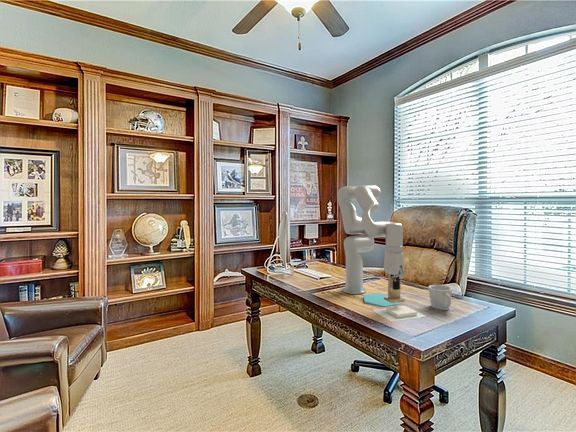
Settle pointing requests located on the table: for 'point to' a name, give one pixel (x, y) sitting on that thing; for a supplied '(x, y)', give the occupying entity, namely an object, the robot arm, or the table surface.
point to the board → (394, 318)
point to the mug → (440, 296)
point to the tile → (401, 311)
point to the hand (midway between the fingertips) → (394, 288)
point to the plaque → (378, 300)
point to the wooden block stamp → (393, 292)
